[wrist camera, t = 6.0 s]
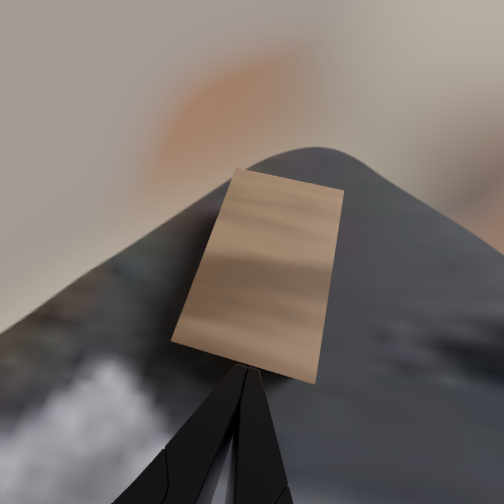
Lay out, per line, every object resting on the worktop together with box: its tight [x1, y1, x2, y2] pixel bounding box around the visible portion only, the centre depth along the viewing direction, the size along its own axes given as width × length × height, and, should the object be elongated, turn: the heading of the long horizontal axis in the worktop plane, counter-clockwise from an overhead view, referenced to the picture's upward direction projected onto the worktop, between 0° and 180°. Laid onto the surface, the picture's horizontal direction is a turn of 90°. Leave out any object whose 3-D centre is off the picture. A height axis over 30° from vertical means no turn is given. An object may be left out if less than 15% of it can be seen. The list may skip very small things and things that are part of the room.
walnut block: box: [171, 168, 344, 384], centre depth 15 cm, size 5×7×11 cm
